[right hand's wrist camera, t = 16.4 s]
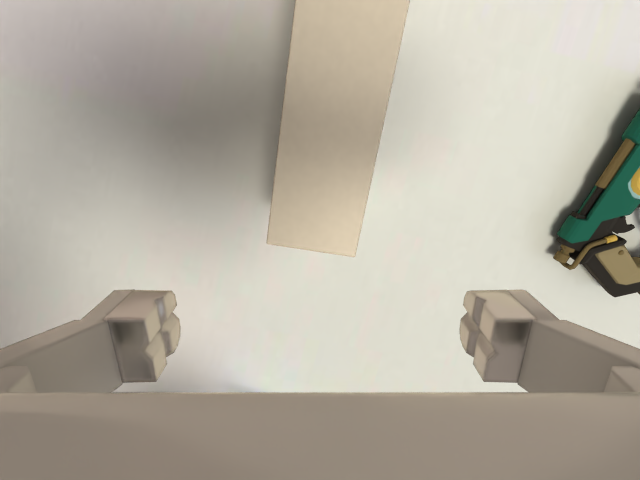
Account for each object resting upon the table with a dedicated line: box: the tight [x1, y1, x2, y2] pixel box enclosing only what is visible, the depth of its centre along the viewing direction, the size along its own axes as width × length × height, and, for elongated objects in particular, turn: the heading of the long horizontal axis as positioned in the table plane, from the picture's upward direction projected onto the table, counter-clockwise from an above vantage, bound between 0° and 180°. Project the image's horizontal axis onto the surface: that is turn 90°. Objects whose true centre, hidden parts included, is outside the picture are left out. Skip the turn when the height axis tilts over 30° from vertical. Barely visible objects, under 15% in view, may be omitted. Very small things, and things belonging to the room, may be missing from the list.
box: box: [267, 0, 410, 257], centre depth 25 cm, size 27×6×9 cm, turn 171°
